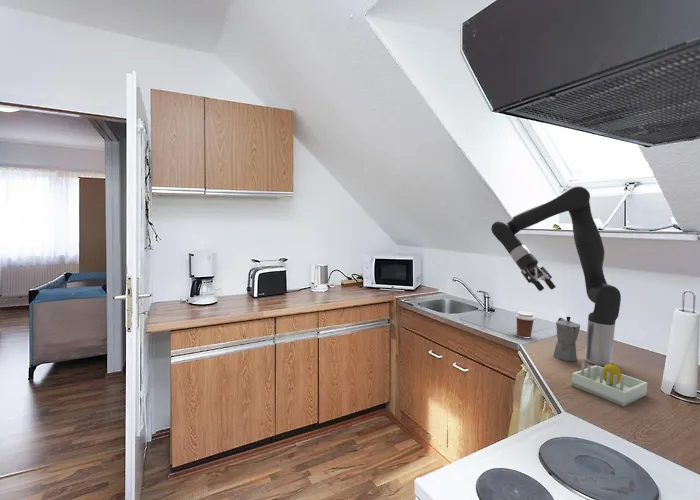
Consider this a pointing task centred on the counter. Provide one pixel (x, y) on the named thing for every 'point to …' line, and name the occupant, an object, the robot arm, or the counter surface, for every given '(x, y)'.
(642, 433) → the counter surface
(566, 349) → the coffeepot
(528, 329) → the coffee cup
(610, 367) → the lemon
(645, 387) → the dish rack
